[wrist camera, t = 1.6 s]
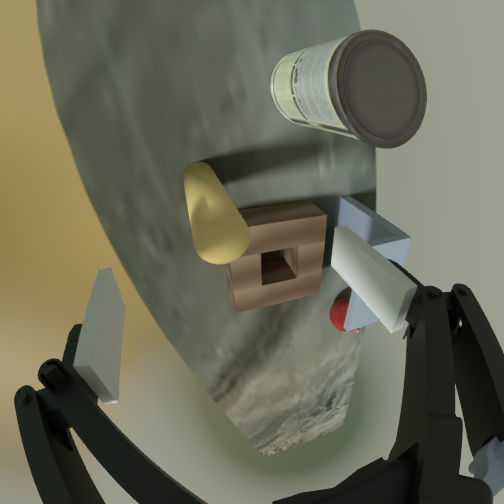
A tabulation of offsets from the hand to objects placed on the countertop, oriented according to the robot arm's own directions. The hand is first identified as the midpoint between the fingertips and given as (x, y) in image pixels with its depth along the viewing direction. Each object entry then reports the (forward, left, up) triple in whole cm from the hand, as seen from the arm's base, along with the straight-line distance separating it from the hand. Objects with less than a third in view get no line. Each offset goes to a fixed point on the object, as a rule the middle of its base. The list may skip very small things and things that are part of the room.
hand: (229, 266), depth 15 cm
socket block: (+11, +8, -19) cm, 23 cm away
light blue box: (+11, +17, -19) cm, 28 cm away
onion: (+25, +21, -19) cm, 38 cm away
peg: (0, 0, -19) cm, 19 cm away
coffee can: (-10, +14, -19) cm, 26 cm away
